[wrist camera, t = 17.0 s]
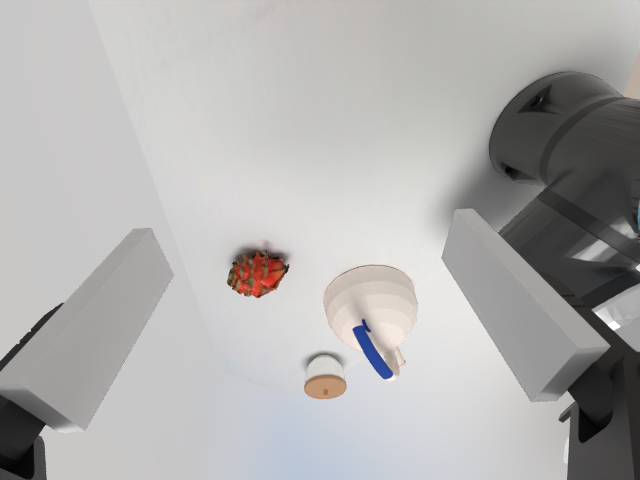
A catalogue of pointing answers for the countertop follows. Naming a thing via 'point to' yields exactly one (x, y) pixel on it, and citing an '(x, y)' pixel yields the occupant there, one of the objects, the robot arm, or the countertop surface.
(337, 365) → the lidded jar
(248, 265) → the dragon fruit
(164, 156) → the countertop surface
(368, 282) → the kettle
